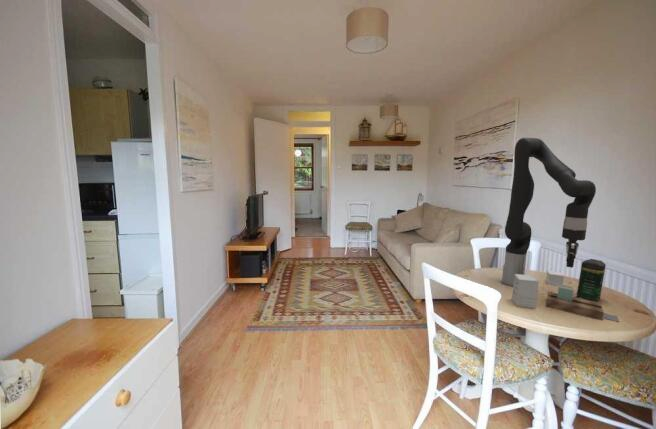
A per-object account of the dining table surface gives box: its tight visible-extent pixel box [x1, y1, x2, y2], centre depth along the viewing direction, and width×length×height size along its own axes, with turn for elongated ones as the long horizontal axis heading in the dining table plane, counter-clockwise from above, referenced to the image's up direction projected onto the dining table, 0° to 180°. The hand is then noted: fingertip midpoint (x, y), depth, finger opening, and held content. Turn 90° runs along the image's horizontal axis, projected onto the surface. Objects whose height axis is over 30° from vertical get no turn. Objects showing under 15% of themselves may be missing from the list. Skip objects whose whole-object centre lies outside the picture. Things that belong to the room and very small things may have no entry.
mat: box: [603, 312, 620, 323], centre depth 115 cm, size 4×6×1 cm
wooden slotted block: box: [545, 291, 605, 321], centre depth 122 cm, size 18×11×4 cm, turn 50°
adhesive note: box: [545, 270, 565, 287], centre depth 150 cm, size 6×6×6 cm
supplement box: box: [511, 274, 539, 309], centre depth 125 cm, size 7×7×13 cm
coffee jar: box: [576, 258, 607, 302], centre depth 132 cm, size 10×8×19 cm
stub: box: [557, 284, 575, 301], centre depth 123 cm, size 5×2×9 cm, turn 50°
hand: (569, 264), depth 121 cm, fingers open, 8 cm apart
